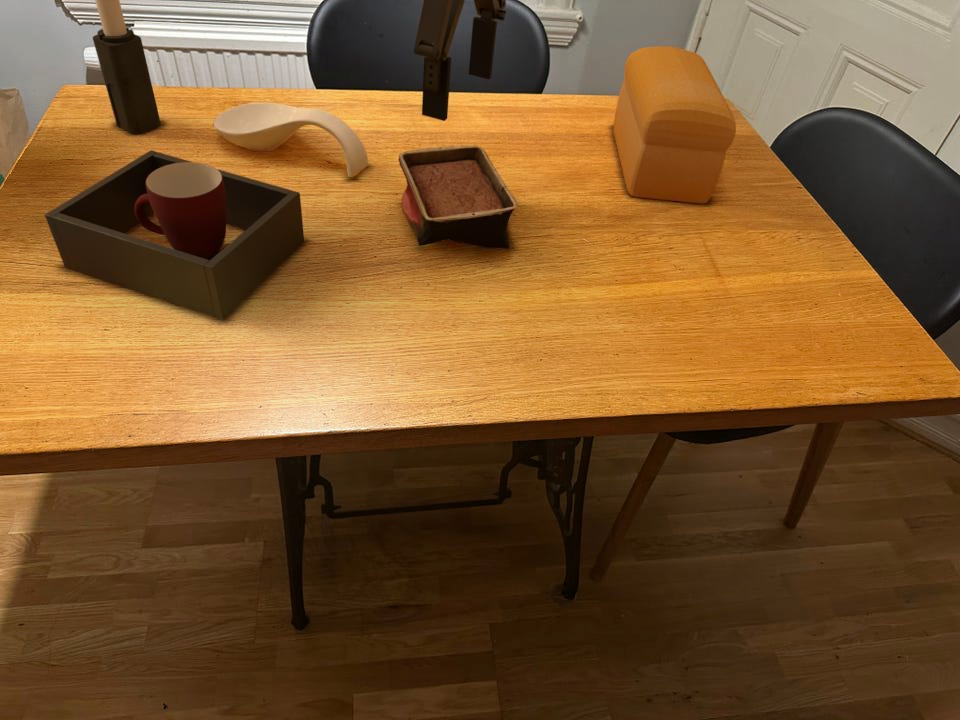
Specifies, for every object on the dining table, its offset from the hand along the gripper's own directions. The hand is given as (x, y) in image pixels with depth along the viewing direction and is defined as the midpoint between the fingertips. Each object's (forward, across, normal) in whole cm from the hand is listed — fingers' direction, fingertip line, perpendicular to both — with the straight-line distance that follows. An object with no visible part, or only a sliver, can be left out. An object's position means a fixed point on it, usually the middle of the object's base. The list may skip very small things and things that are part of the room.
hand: (458, 95), depth 81 cm
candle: (+18, +3, +52) cm, 55 cm away
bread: (+18, +34, -22) cm, 44 cm away
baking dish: (+18, +1, -1) cm, 18 cm away
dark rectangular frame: (+18, -21, +25) cm, 37 cm away
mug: (+18, -21, +25) cm, 37 cm away
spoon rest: (+18, +7, +28) cm, 34 cm away
